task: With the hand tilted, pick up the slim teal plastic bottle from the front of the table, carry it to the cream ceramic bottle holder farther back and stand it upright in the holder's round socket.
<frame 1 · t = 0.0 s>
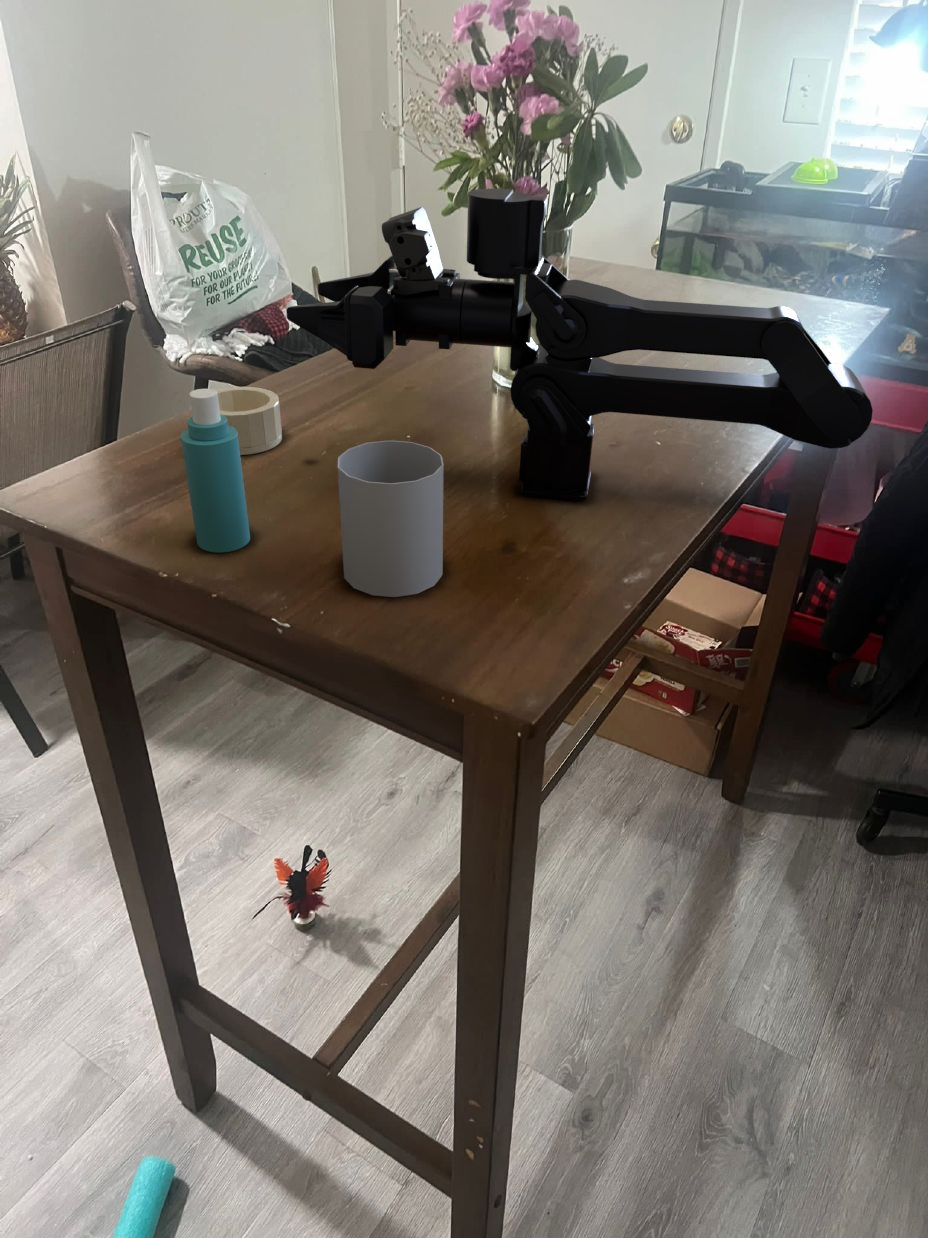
hand: (303, 300, 86), 17 cm above the table, tool horizontal, fingers open, 9 cm apart
bottle: (223, 540, 81), on the table
cup: (393, 572, 77), on the table
holder: (242, 439, 100), on the table
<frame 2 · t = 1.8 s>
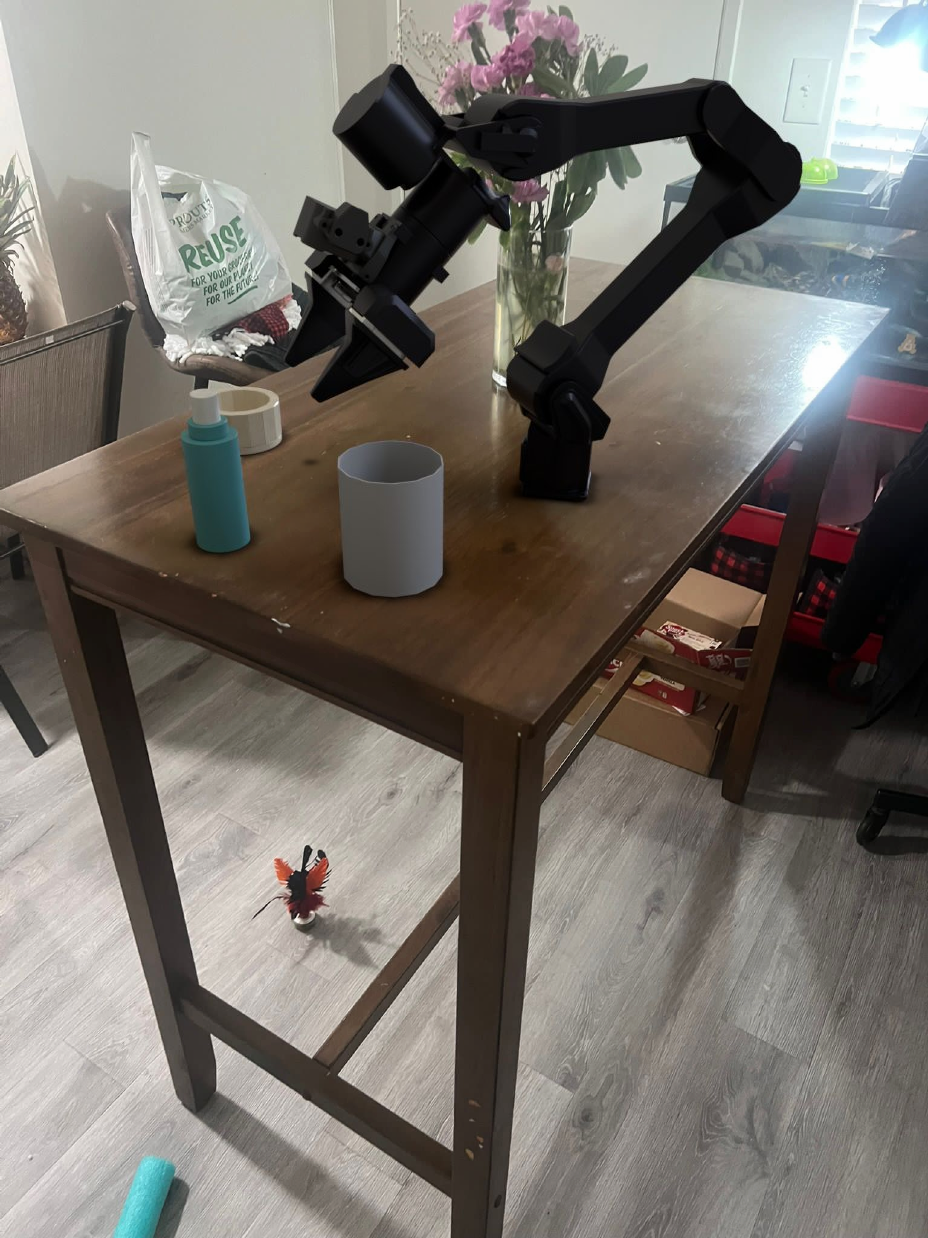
hand: (300, 380, 76), 14 cm above the table, tool tilted 45°, fingers open, 9 cm apart
nothing on the table moved.
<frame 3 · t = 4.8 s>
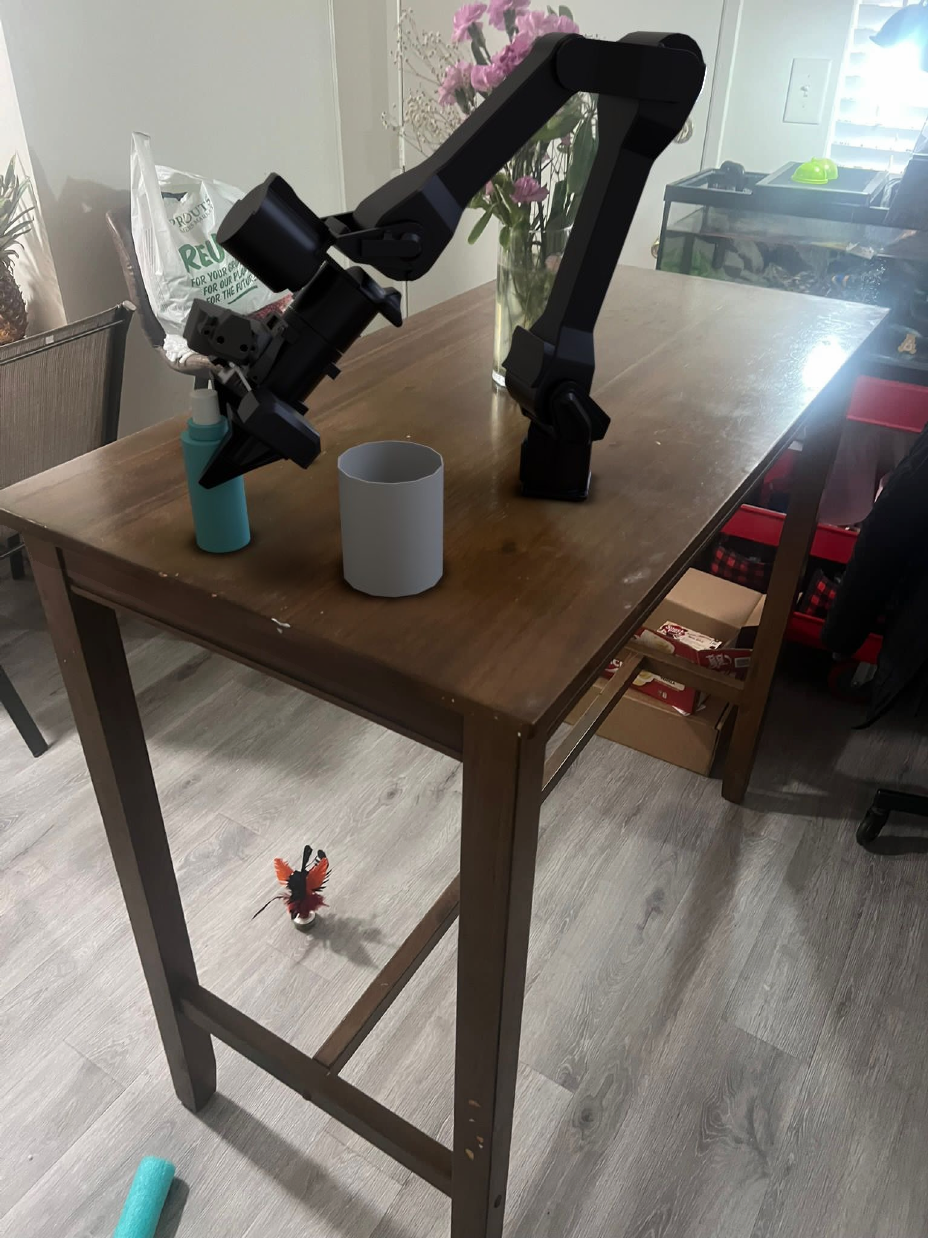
hand: (197, 474, 77), 7 cm above the table, tool tilted 45°, fingers closed on bottle, 4 cm apart
bottle: (223, 540, 81), on the table, touching gripper
everything else where it was.
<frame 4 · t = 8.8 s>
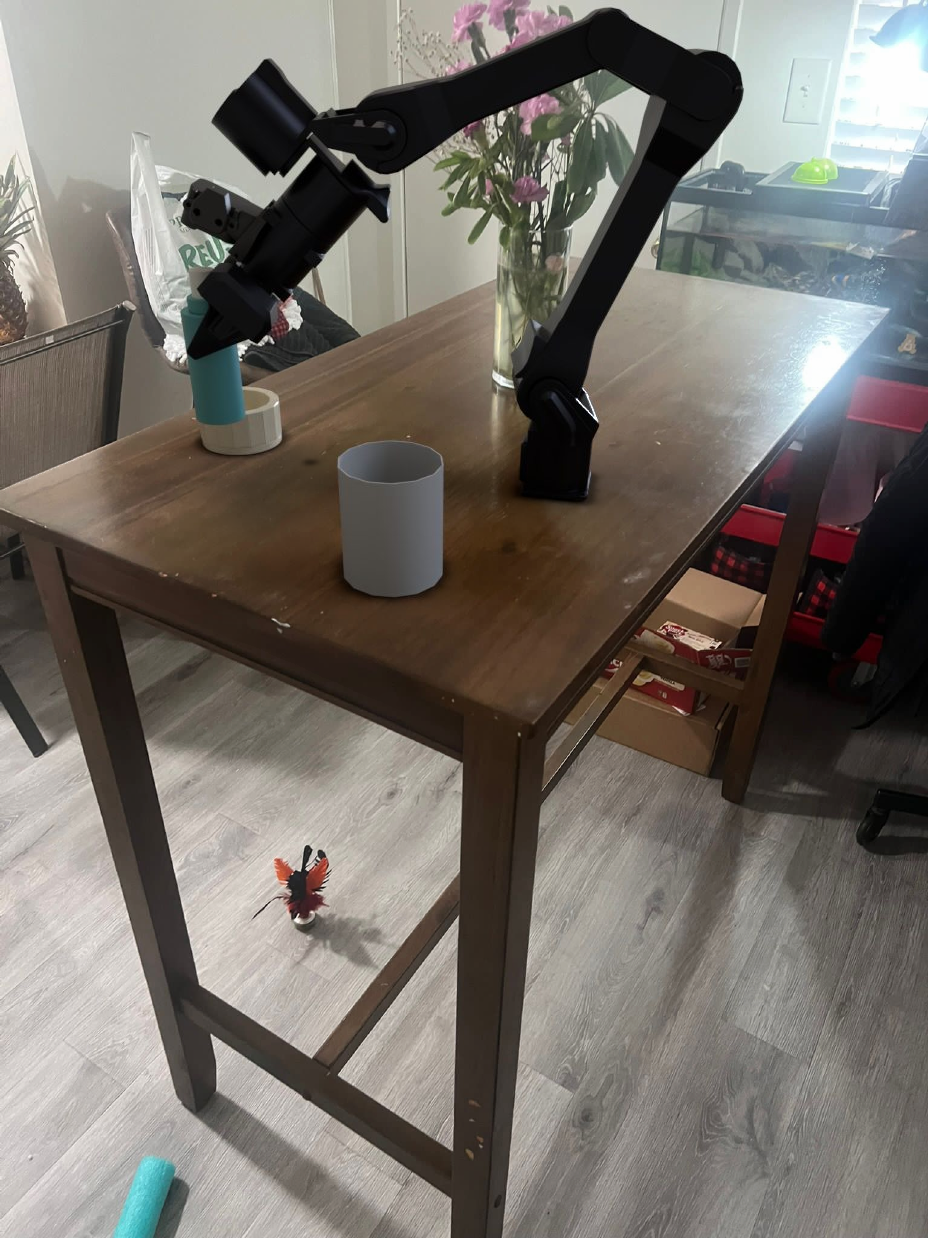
hand: (196, 347, 83), 13 cm above the table, tool tilted 45°, fingers closed on bottle, 4 cm apart
bottle: (221, 416, 87), point 7 cm above the table, touching gripper
everything else where it was.
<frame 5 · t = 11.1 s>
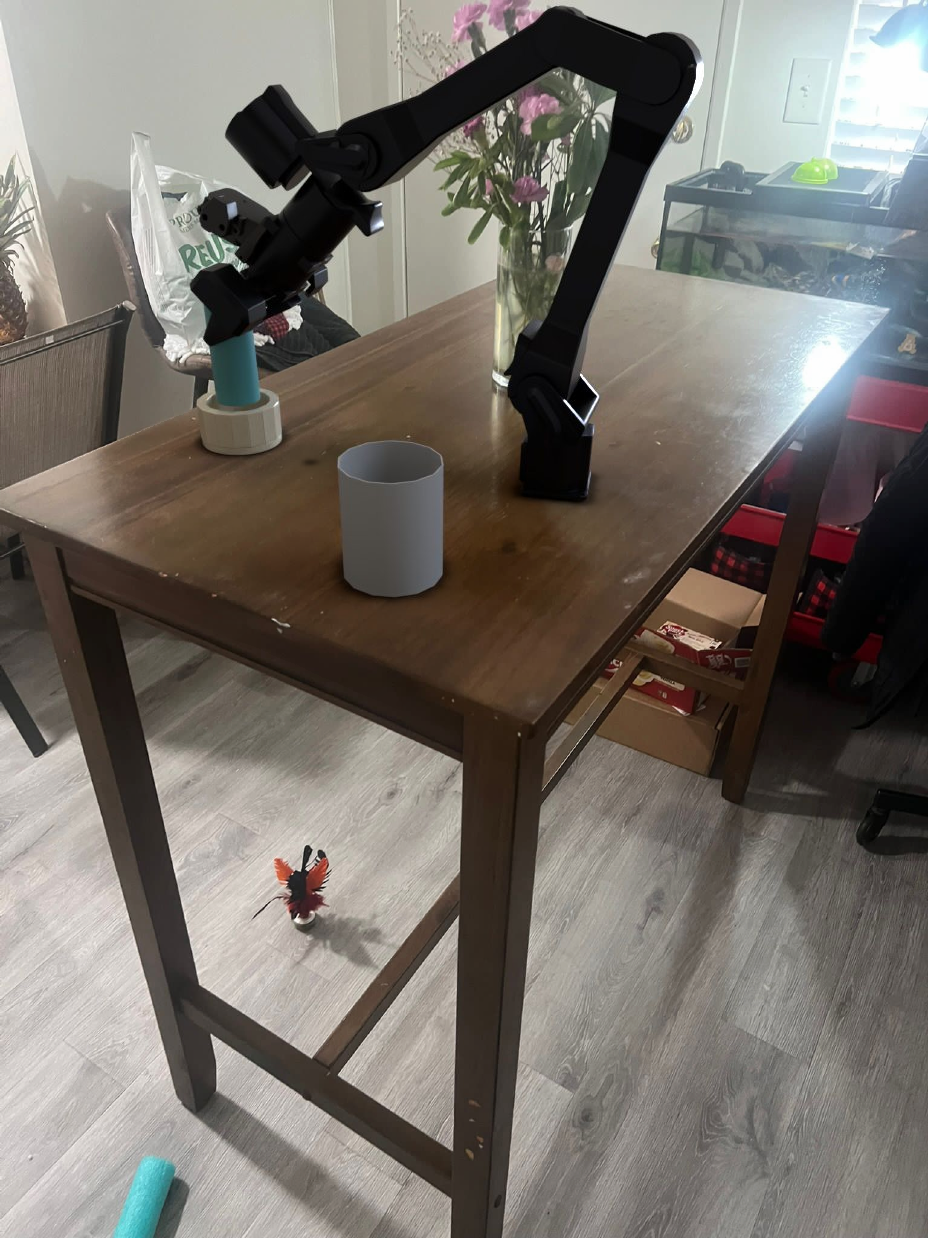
hand: (219, 335, 94), 11 cm above the table, tool tilted 45°, fingers closed on bottle, 4 cm apart
bottle: (238, 398, 97), point 5 cm above the table, touching gripper
everything else where it was.
when the fingers open (7 cm above the table, at t = 12.6 s): bottle stays where it is, resting on holder.
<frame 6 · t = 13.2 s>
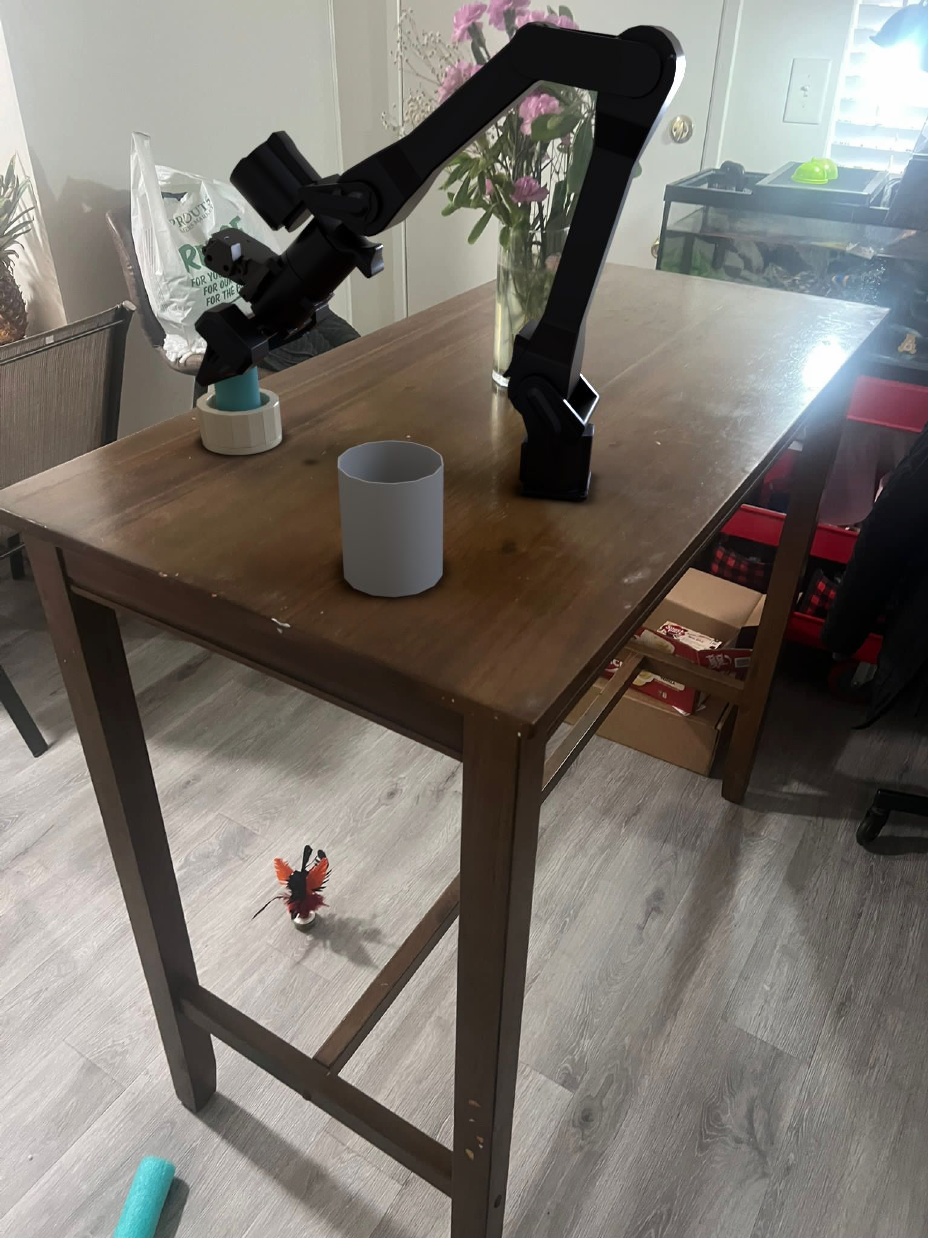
hand: (222, 369, 96), 8 cm above the table, tool tilted 45°, fingers open, 9 cm apart
bottle: (242, 432, 99), point 1 cm above the table, touching holder
everything else where it was.
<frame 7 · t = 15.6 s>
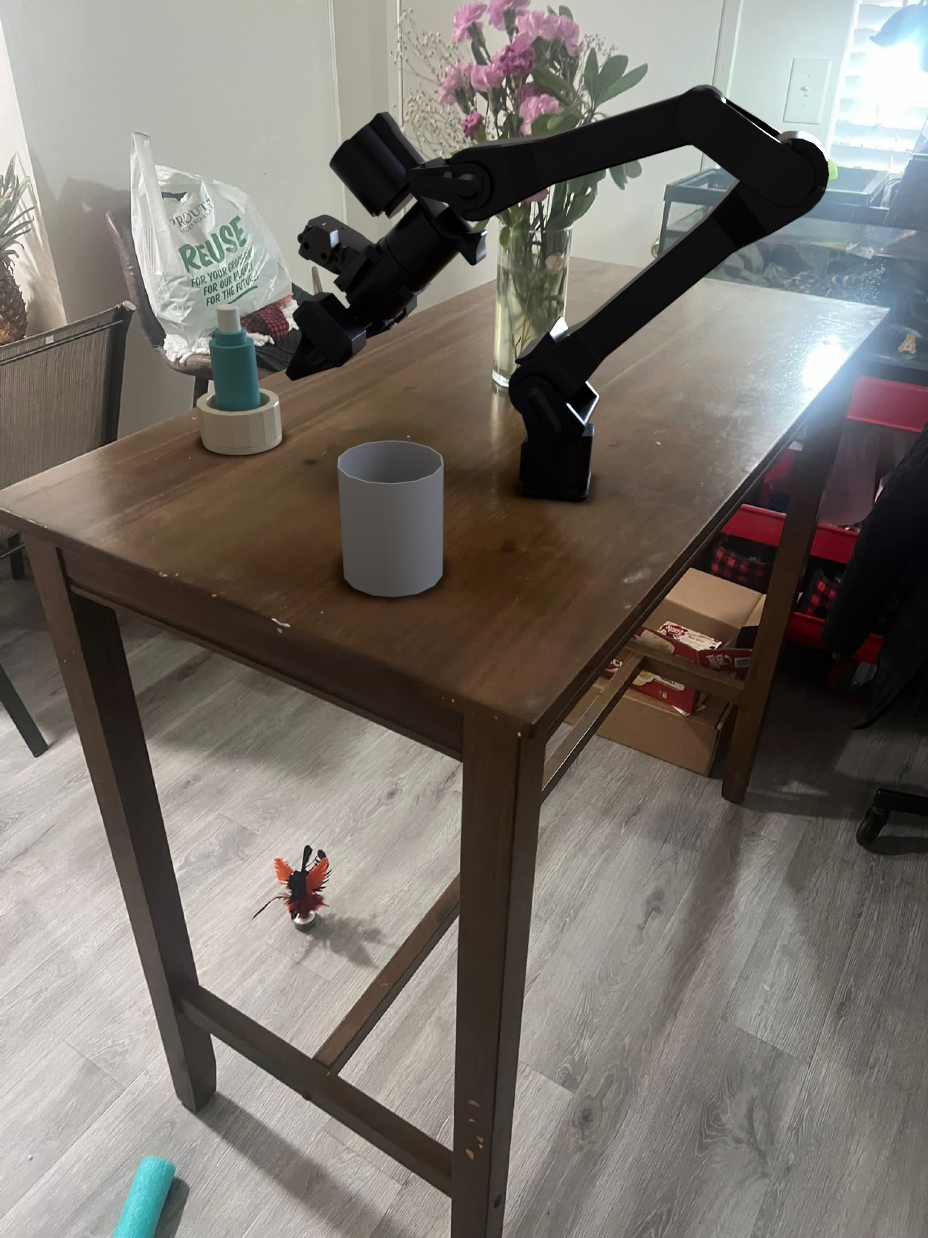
hand: (309, 362, 92), 10 cm above the table, tool tilted 45°, fingers open, 9 cm apart
nothing on the table moved.
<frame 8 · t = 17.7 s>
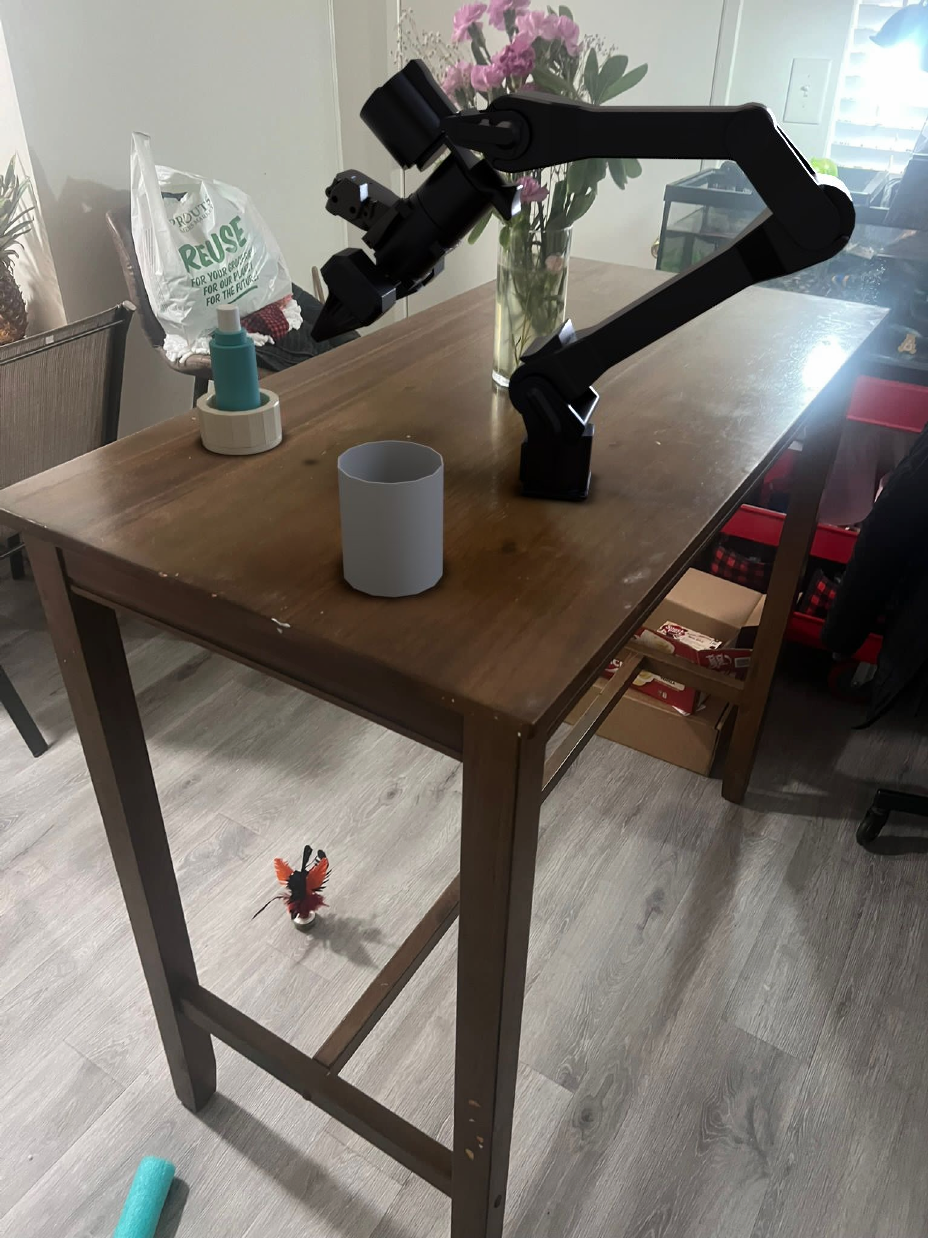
hand: (333, 325, 90), 14 cm above the table, tool tilted 45°, fingers open, 9 cm apart
nothing on the table moved.
at the end: bottle 0.0 cm off-centre in the holder, point 0.8 cm above the holder's base; bottle tilted 0°; the gripper is holding nothing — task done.
